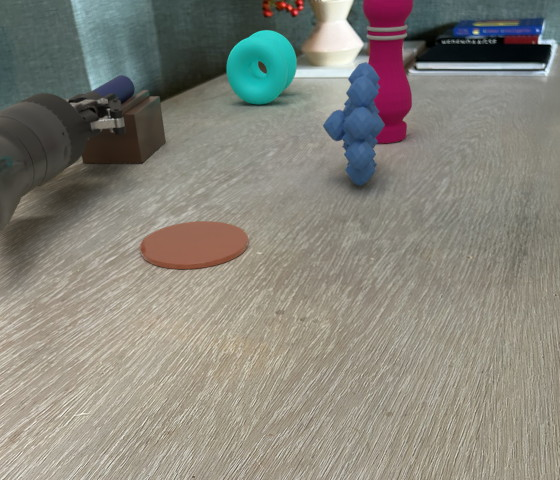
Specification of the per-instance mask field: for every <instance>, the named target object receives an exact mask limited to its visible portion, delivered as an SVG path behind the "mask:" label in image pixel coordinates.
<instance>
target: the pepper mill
mask: <svg viewBox="0 0 560 480" xmlns="http://www.w3.org/2000/svg"><path fill="white" fill-rule="evenodd" d="M413 7H414V0H363V3H362V10H363V14H364V17H366V19H367V20H368V22H369V25H367V26H366V33H367V34H366V38H367V40H369V55H368V62H367V63H368V64H370V65H371V66H372V67H373V68H374V70H375V71H376V73H377V75H378V76H379V78H380V79H379V81H378V82H377V83H378V84H379V86H380V88H379V89H378V92H379V93H378V95H377V96H376V98H375V99H374V100H373V101H374V102H375V106H376V107H377V109H378V111H379V113H378V115H379V116H380V118H381V119H382V121H383V123H384V124H385V126H384V127H383V129H382V130H381V132H380V133H379V134H378V135H377V137H376V139H377V141H378V143H377V144H394V143H398V142H401V141H404V140H405V139H406V138H407V131H408V124H407V122H406V121H405V120H404V118H405V117H406V116H407V115H408V114H409V113H410V112H411V109H412V108H413V107H412V106H413V97H412V96H413V94H412V90H411V89H412V88H411V86H410V83H409V80H408V77H407V74H406V73H407V72H406V69H405V64H404V58H403V57H404V55H403V48H404V41H405V38H406V37H408V33H407V29H408V25H407V24H406V23H405V22H406V20H407V19H408V17H410V15H411V13H412V11H413Z"/></svg>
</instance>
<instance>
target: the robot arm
mask: <svg viewBox="0 0 560 480" xmlns="http://www.w3.org/2000/svg"><path fill="white" fill-rule="evenodd" d="M84 94H85V93H78V94H76V95H75V96H74V95H73V96H72V97H71V98H64V97H61V96H59V95H56V94H54V93H46V92H42V93H41V92H40V93H35V94H33V95H30V96H28V97H27V98H24V99H22V100H20V101H17V102H16V103H14V104H12V105H9V106H8V107H5V108H3V109H2V110H0V233H2V232H3V231H5V229H6V228H7V227H8V225H9V224H10V222H11V220H12V218H13V216H14V214H15V212H16V210H17V208H18V207H19V204H20V202H21V200H22V199H23V197H25V196H26V195H27V194H29V193H31V192H32V191H33V190H34V189H36V188H38V187H39V186H40V187H41V186H42V185H44V184H47V183H49V182H50V181H51V180H53V179H55V177H57V176H59V175H60V174H61V173H62V172H64V171H65V170H67V169H68V168H69V167H70V166H72V165H74V164H75V163H76V162H78V161H79V159H80V158H82V154H83V152H84V150H85V147H86V144H87V141H88V139H89V138H90V137H93V136H96V135H98V134H99V133H100V132H101V131H102V129H106V128H110V132H115V134H116V135H123V134H125V133H126V130H125V124H124V118H123V112H122V107H121V101H120V100H119V98H118V97H116V94H115V93H109V94H107V95H105V96H104V97H102V98H100V99H99V100H84V101H81V102H78V103H73V102H74V100H75V99H77V98H78V97H80V96H82V95H84Z"/></svg>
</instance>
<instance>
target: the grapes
mask: <svg viewBox="0 0 560 480" xmlns="http://www.w3.org/2000/svg"><path fill="white" fill-rule="evenodd" d="M379 79H380V78H379V76H378V75H377V73H376V71H375V70H374V68H373V67H372V66H371V65H370V64H368V62H367V61H365V62H362V63H359V64H358V65H357V66H356V67H355V68H354V70H353V71H352V72H351V73H350V75H349V77H348V78H347V80H348V81H349V84H350V85H349V88H348V89H347V90H346V92H345V94H346V96H347V97H348V98H347V99H346V101H344V103H343V105H344V108H343V110H342V109H336V110H334V111H332V113H330V115H329V116H328V117H327V118H326V120H325V121H324V123H323V124H322V127H323V128H324V131H325V132H326V133H327V135H328V136H329V137H330V138H331V140H333V141H334V142H340V141H343V145H342V148H343V149H344V151H345V152H344V153H343V155H344V157H345V159H346V160H347V163H346V168H345V169H344V171H345V173H346V175H347V176H348V178H349V179H350V180H351V181H352V183H353V184H355V185H357V186H364V185H365V184H366V183H367V182H369V181H370V179H371V178H372V177H373V175H374V174H375V173H376V171H377V169H376V167H377V165H378V164H377V162H376V161H375V159H374V158H376V155H377V153H376V150H374V148H375V147H376V146H377V144H379V143H378V141H377V139H376V137H377V135H378V134H379V133H380V132H381V130H382V129H383V127H384V126H385V124H384V123H383V121H382V119H381V118H380V116H379V115H378V113H379V111H378V109H377V107H376V106H375V102H374V101H373V100H374V99H375V98H376V96H377V95H378V93H379V92H378V89H379V88H380V86H379V84H378V83H377V82H378V81H379Z"/></svg>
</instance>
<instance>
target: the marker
mask: <svg viewBox="0 0 560 480" xmlns="http://www.w3.org/2000/svg"><path fill="white" fill-rule="evenodd" d="M135 88H136V87H135V85H134V82H133V81H132V80H131V78H130V77H128V76H126V75H117V76H115V77H114V78H112V79H111V80H108V81H107V82H105V83H103V84H101V85H100V86H98V87H96V88H94V89H93V90H90V91H88V92H85V93H83V94H84V95H82V96H80V97H78V98H77V99H75V100H74V102H73V103H78V102H81V101H84V100H99V99H100V98H102V97H104V96H105V95H107V94H109V93H115V94H116V97H118V98H119V100H120V101H121V104H123V103H124V102H126V101H127V100H129V99H130V98H131V97H134V96H135V95H134V94H135V92H136V91H135V90H136V89H135Z"/></svg>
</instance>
